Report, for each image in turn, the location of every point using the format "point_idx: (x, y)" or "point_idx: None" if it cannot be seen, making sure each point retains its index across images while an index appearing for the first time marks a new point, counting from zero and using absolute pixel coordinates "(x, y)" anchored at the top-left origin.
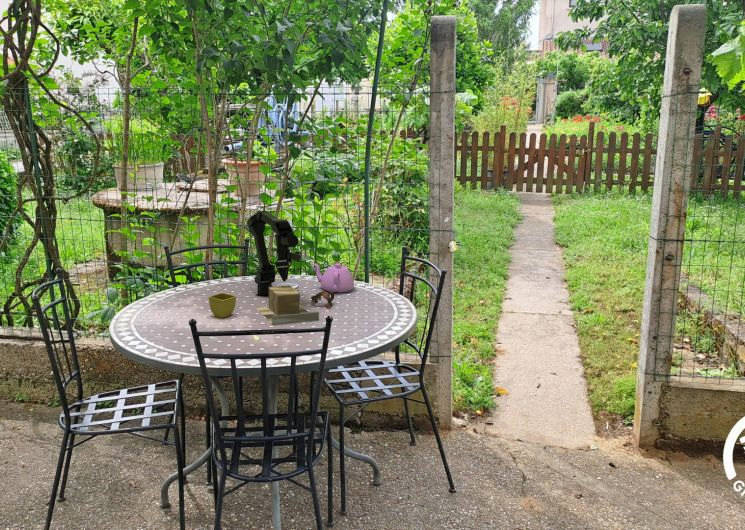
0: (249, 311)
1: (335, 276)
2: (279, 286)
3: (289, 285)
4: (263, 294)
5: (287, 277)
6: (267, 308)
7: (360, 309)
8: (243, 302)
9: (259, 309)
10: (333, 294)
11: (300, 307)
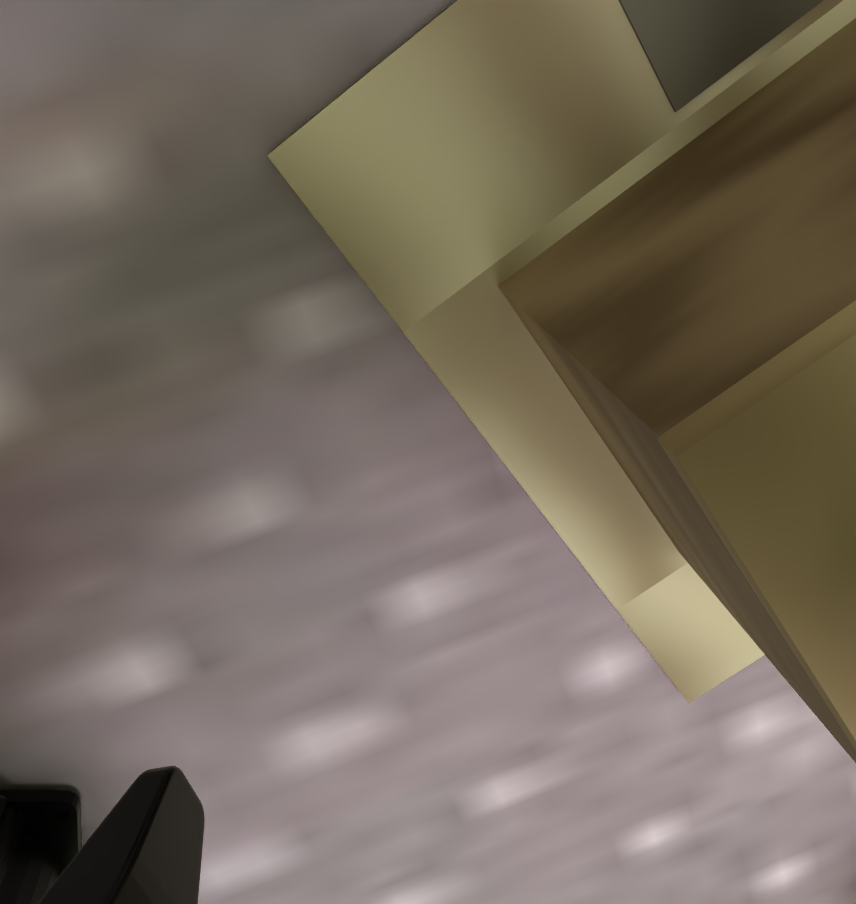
0: (802, 702)
1: None
2: (852, 673)
3: (693, 461)
4: (55, 868)
5: (151, 834)
6: None
7: None
8: (449, 898)
9: None
10: None
11: (527, 31)
